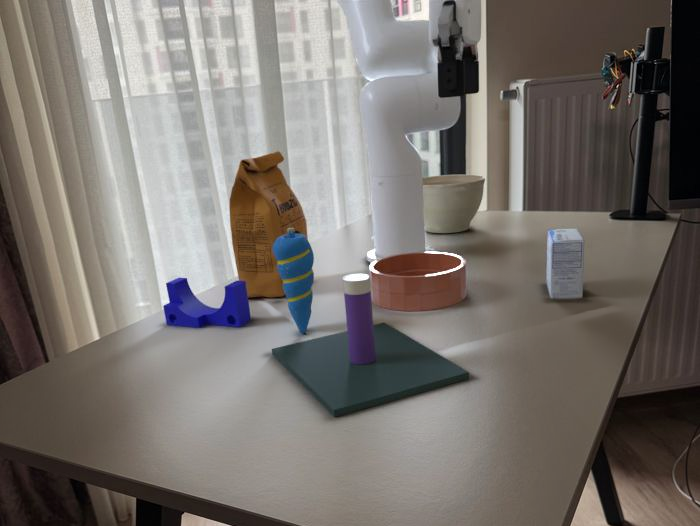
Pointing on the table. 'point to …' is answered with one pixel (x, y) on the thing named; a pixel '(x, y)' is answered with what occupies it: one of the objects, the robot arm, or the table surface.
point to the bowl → (418, 281)
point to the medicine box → (565, 263)
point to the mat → (366, 370)
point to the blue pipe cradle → (197, 314)
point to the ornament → (296, 274)
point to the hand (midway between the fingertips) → (459, 95)
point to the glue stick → (359, 318)
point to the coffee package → (262, 222)
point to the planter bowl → (451, 201)
